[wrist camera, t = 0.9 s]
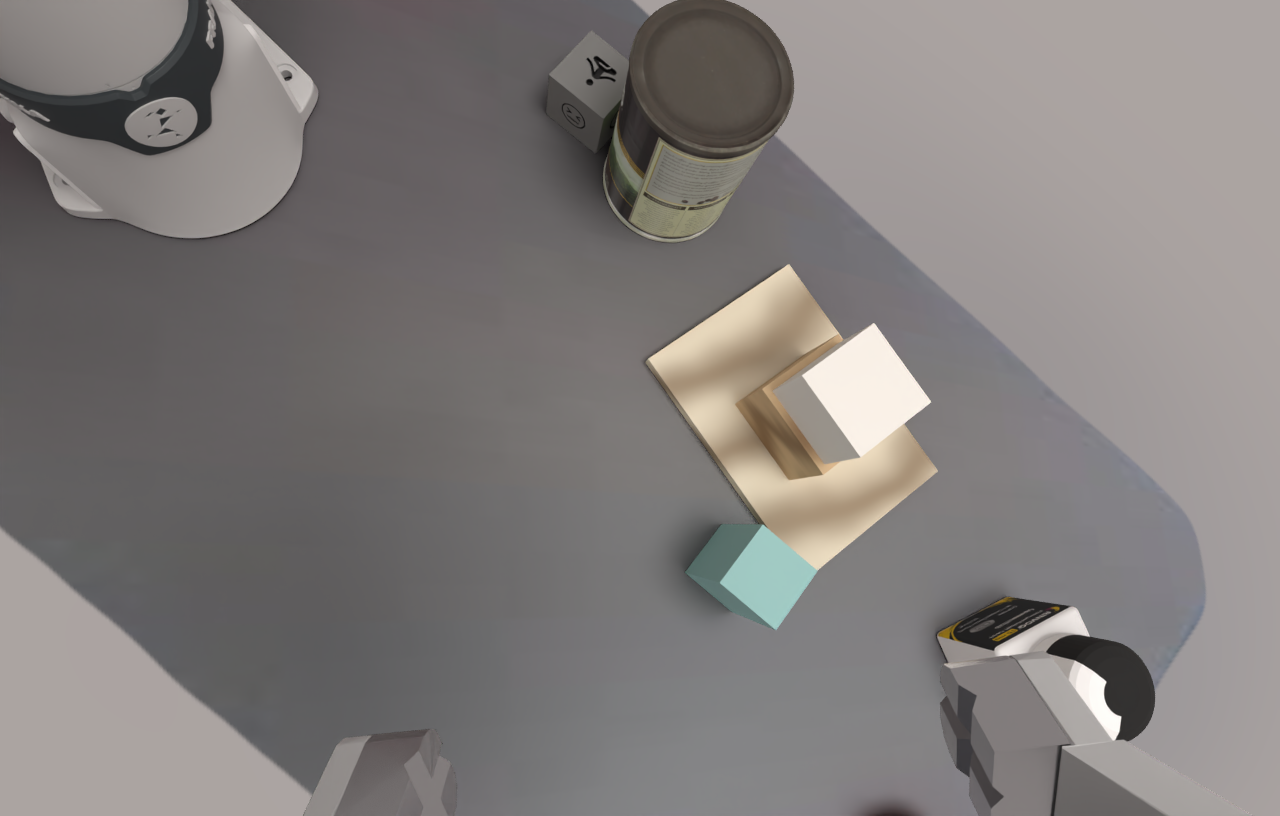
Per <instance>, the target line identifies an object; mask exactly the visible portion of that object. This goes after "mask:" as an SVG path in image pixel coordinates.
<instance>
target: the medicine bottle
mask: <svg viewBox="0 0 1280 816" xmlns="http://www.w3.org/2000/svg"><path fill="white" fill-rule="evenodd" d="M937 638H938V640H939V643H940V645H941V647H942V650H943V652H944V654H945V656H946V659H947V661H948V663H954V662H961V661H969V660H976V659H983V658H990V657H998V656H1005V655H1006V656H1010V655H1015V654H1023V653H1031V652H1038V651H1045V652H1046V653H1048V654H1049V655H1051V657H1052V658H1053V659H1054V661H1055V662H1056V664H1057V665H1058V666H1059V668H1060V669H1061V670H1062V672H1063V673H1064V675H1065V676H1066V677H1067V679H1068V680H1069V681H1070V683H1071V684H1072V685H1073V687H1074V688H1075V690H1076V691H1077V692H1078V694H1079V695H1080V696H1081V698H1082V699H1083V700H1084V702H1085V703H1086V705H1087V706H1088V707H1089V709H1090V710H1091V711H1092V713H1093V714H1094V716H1095V717H1096V718H1097V720H1098V721H1099V722H1100V724H1101V725H1102V726H1103V728H1104V729H1105V731H1106V732H1107V733H1108V735H1109V736H1110V737H1111V739H1112V740H1125V741H1127V742H1128V741H1130V740H1132V739H1133V738H1135V737H1136V736H1138V735H1139V734H1140V733H1141V732H1142V731H1143V730H1144V729H1145V728H1146V726H1147V725H1148V723H1149V721H1150V720H1151V717H1152V714H1153V711H1154V706H1155V690H1154V685H1153V681H1152V678H1151V675H1150V673H1149V671H1148V669H1147V667H1146V666H1145V664H1144V663H1143V661H1142V660H1141V658H1140V657H1139V656H1138V655H1137V654H1136V653H1135V652H1134V651H1133V650H1131V649H1130V648H1129V647H1127V646H1125V645H1123V644H1121V643H1118V642H1114V641H1109V640H1104V639H1099V638H1094V637H1090V636H1089V633H1088V631H1087V629H1086V627H1085V625H1084V623H1083V620H1082V618H1081V616H1080V614H1079V612H1078V610H1077V609H1076V608H1075V607H1072V606H1066V605H1059V604H1052V603H1046V602H1039V601H1032V600H1025V599H1019V598H1012V597H1006V598H1004V599H1002V600H1000V601H998V602H996V603H994V604H992V605H990V606H988V607H986V608H985V609H983V610H981V611H979V612H977V613H975V614H973V615H971V616H969V617H967V618H965V619H963V620H962V621H960V622H958V623H956V624H954V625H952V626H950V627H948V628H946V629H944V630H942V631H940V632H939V633H938V634H937Z"/></svg>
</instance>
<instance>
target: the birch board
mask: <svg viewBox="0 0 1280 816" xmlns="http://www.w3.org/2000/svg"><path fill="white" fill-rule="evenodd" d="M838 334H839V333H838V332H837V330H836V329H835V327H834V326H833V325H832V323H831V322H830V321H829V319H828V318H827V316H826V315H825V314H824V312H823V311H822V309H821V308H820V307H819V305H818V304H817V302H816V301H815V300H814V298H813V297H812V296H811V294H810V293H809V291H808V290H807V289H806V287H805V286H804V284H803V283H802V282H801V280H800V279H799V277H798V276H797V275H796V273H795V272H794V271H793V269H792V268H791V266H790V265H789V264H788V265H787V266H785V267H784V268H782V269H781V270H780V271H778V272H777V273H775V274H774V275H772V276H771V277H769V278H768V279H766V280H765V281H763V282H762V283H760V284H759V285H757V286H756V287H754V288H753V289H751V290H750V291H748V292H747V293H745V294H744V295H742V296H741V297H739V298H738V299H736V300H735V301H733V302H732V303H730V304H729V305H727V306H726V307H725V308H723V309H722V310H720V311H719V312H717V313H716V314H714V315H713V316H711V317H710V318H708V319H707V320H705V321H704V322H702V323H701V324H699V325H698V326H696V327H695V328H693V329H692V330H690V331H689V332H687V333H686V334H684V335H683V336H681V337H680V338H678V339H677V340H675V341H674V342H672V343H671V344H670V345H668V346H667V347H665V348H664V349H662V350H661V351H659V352H658V353H656V354H655V355H653V356H652V357H650V358H649V359H648V360H647V361H646V362H645V363H646V364H647V366H648V367H649V368H650V370H651V371H652V373H653V374H654V376H655V377H656V378H657V380H658V381H659V383H660V384H661V385H662V387H663V388H664V390H665V391H666V393H667V394H668V395H669V397H670V398H671V400H672V401H673V402H674V404H675V405H676V407H677V408H678V409H679V411H680V412H681V414H682V415H683V417H684V418H685V419H686V421H687V422H688V424H689V425H690V426H691V428H692V429H693V431H694V432H695V434H696V435H697V436H698V438H699V439H700V441H701V442H702V443H703V445H704V446H705V448H706V449H707V451H708V452H709V453H710V455H711V456H712V458H713V459H714V460H715V462H716V463H717V465H718V466H719V468H720V469H721V470H722V472H723V473H724V475H725V476H726V477H727V479H728V480H729V482H730V483H731V485H732V486H733V487H734V489H735V490H736V492H737V493H738V494H739V496H740V497H741V499H742V500H743V501H744V503H745V504H746V506H747V507H748V509H749V510H750V511H751V513H752V514H753V516H754V517H755V518H756V520H757V521H758V523H759V524H763V525H764V526H765V527H767V528H768V529H769V530H770V531H771V532H772V533H774V534H775V535H776V536H777V537H778V538H780V539H781V540H782V541H783V542H784V543H785V544H787V545H788V546H789V547H790V548H791V549H793V550H794V551H795V552H796V553H797V554H798V555H800V556H801V557H802V558H803V559H804V560H805V561H807V562H808V563H809V564H810V565H811V566H813V567H814V568H815V569H816V570H818V569H820V568H821V567H822V566H823V565H824V564H826V563H827V562H828V561H829V560H830V559H832V558H833V557H834V556H835V555H837V554H838V553H839V552H840V551H841V550H843V549H844V548H845V547H846V546H847V545H849V544H850V543H851V542H852V541H854V540H855V539H856V538H857V537H858V536H860V535H861V534H862V533H863V532H865V531H866V530H867V529H868V528H869V527H871V526H872V525H873V524H874V523H875V522H877V521H878V520H879V519H880V518H882V517H883V516H884V515H885V514H886V513H888V512H889V511H890V510H891V509H892V508H894V507H895V506H896V505H897V504H899V503H900V502H901V501H902V500H903V499H905V498H906V497H907V496H908V495H910V494H911V493H912V492H913V491H914V490H916V489H917V488H918V487H919V486H920V485H922V484H923V483H924V482H925V481H927V480H928V479H929V478H930V477H931V476H933V475H934V474H935V473H936V472H938V470H937V469H936V468H935V466H934V465H933V464H932V462H931V461H930V459H929V458H928V457H927V455H926V454H925V452H924V451H923V450H922V448H921V447H920V445H919V444H918V443H917V441H916V440H915V439H914V437H913V436H912V434H911V433H910V432H909V430H908V429H907V427H906V426H905V425H904V424H903V425H901V426H900V427H899V428H897V429H896V430H895V431H894V432H892V433H891V434H890V435H889V436H887V437H886V438H885V439H883V440H882V441H881V442H880V443H878V444H877V445H876V446H875V447H873V448H872V449H871V450H869V451H868V452H867V453H866V454H864V455H863V456H862V457H860V458H855V459H850V460H845V461H841V462H839V463H838V464H837V465H835V466H834V467H833V468H832V469H830V470H829V471H828V472H826V473H825V474H824V475H820V476H813V477H807V478H801V479H795V480H788V478H787V477H786V476H785V474H784V473H783V471H782V470H781V468H780V467H779V466H778V464H777V463H776V461H775V460H774V459H773V457H772V456H771V454H770V453H769V452H768V450H767V449H766V447H765V446H764V445H763V443H762V442H761V440H760V439H759V437H758V436H757V435H756V433H755V432H754V430H753V429H752V428H751V426H750V425H749V423H748V422H747V421H746V419H745V418H744V416H743V415H742V414H741V412H740V411H739V409H738V408H737V407H736V405H735V404H736V403H737V402H739V401H740V400H741V399H743V398H744V397H746V396H747V395H748V394H750V393H751V392H752V391H754V390H755V389H757V388H758V387H759V386H761V385H762V384H764V383H765V382H766V381H768V380H769V379H771V378H772V377H773V376H775V375H776V374H778V373H779V372H780V371H782V370H783V369H784V368H786V367H787V366H789V365H790V364H791V363H793V362H794V361H796V360H797V359H798V358H800V357H801V356H803V355H804V354H806V353H807V352H809V351H811V350H812V349H814V348H816V347H817V346H819V345H821V344H823V343H824V342H826V341H828V340H829V339H831V338H833V337H834V336H836V335H838ZM839 335H840V334H839ZM841 338H842V337H841Z"/></svg>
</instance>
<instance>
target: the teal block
mask: <svg viewBox="0 0 1280 816" xmlns="http://www.w3.org/2000/svg"><path fill="white" fill-rule="evenodd" d="M685 573H686V574H687V575H688V576H690V577H691V578H692V579H693V580H694V581H696V582H697V583H698V584H699V585H700V586H701V587H703V588H704V589H705V590H706V591H707V592H709V593H710V594H711V595H712V596H713V597H715V598H716V599H717V600H718V601H719V602H721V603H722V604H723V605H724V606H725V607H726V608H728V609H729V610H730V611H731V612H733V613H736V614H738V615H741V616H743V617H745V618H748V619H750V620H753V621H755V622H757V623H760V624H762V625H765V626H767V627H769V628H772V629H774V630H777V628H778V627H779V625H780V624H781V622H782V621H783V620H784V618H785V617H786V615H787V614H788V612H789V611H790V610H791V608H792V607H793V605H794V604H795V602H796V601H797V600H798V598H799V597H800V595H801V594H802V593H803V591H804V590H805V588H806V587H807V585H808V584H809V583H810V581H811V580H812V578H813V577H814V575H815V574H816V573H817V570H816V569H815V568H814V567H813V566H811V565H810V564H809V563H808V562H807V561H805V560H804V559H803V558H802V557H801V556H800V555H798V554H797V553H796V552H795V551H794V550H793V549H791V548H790V547H789V546H788V545H787V544H785V543H784V542H783V541H782V540H781V539H780V538H778V537H777V536H776V535H775V534H774V533H772V532H771V531H770V530H769V529H768V528H767V527H765V526H764V525H763V524H721V525H720V527H719V528H718V529H717V531H716V532H715V533H714V535H713V536H712V537H711V539H710V540H709V541H708V543H707V544H706V545H705V547H704V548H703V549H702V551H701V552H700V553H699V554H698V556H697V557H696V558H695V560H694V561H693V562H692V564H691V565H690V566H689V568H688V569H687V570H686V572H685Z"/></svg>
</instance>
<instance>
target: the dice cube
mask: <svg viewBox="0 0 1280 816" xmlns="http://www.w3.org/2000/svg"><path fill="white" fill-rule="evenodd" d="M628 69H629V61H628V60H627V59H626V58H625V57H623V56H622V55H621V54H620V53H619V52H617V51H616V50H615V49H614V48H612V47H611V46H610V45H609V44H607V43H606V42H605V41H604V40H603V39H601V38H600V37H599V36H598V35H596V34H595V33H594V32H593V31H592V30H591V31H590V32H589V33H588V34H587V35H586V36H585V37H584V39H583V40H582V41H581V42H580V43H579V44H578V45H577V46H576V47H575V48H574V49H573V50H572V51H571V52H570V53H569V54H568V55H567V56H566V57H565V58H564V59H563V61H562V62H561V63H560V64H559V65H558V66H557V67H556V68H555V69H554V70H553V71H552V72H551V73H550V74H549V81H548V95H547V108H546V114H547V115H548V116H549V117H550V118H552V119H553V120H554V121H555V122H557V123H558V124H559V125H560V126H561V127H563V128H564V129H565V130H566V131H568V132H569V133H570V134H571V135H573V136H574V137H575V138H576V139H578V140H579V141H580V142H581V143H583V144H584V145H585V146H586V147H588V148H589V149H590V150H591V151H593V152H594V153H595V154H596V153H597V152H598V151H599V150H600V149H601V148H602V147H603V145H604V144H605V143H606V142H607V141H608V140H609V139H610V138H611V137H612V135H613V133H614V129H615V124H616V120H617V116H618V112H619V107H620V103H621V98H622V94H623V89H624V86H625V82H626V78H627V73H628Z"/></svg>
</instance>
